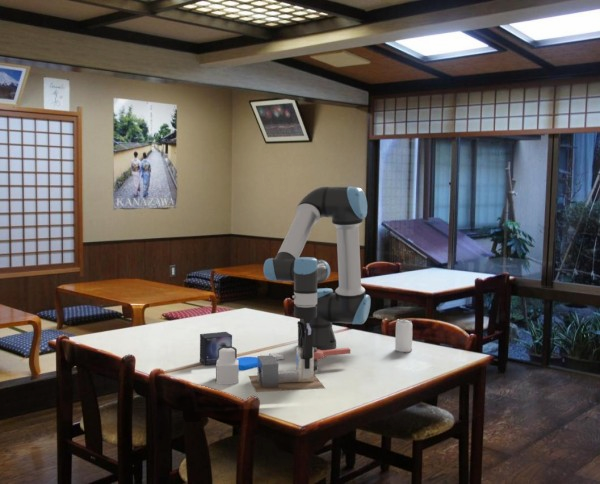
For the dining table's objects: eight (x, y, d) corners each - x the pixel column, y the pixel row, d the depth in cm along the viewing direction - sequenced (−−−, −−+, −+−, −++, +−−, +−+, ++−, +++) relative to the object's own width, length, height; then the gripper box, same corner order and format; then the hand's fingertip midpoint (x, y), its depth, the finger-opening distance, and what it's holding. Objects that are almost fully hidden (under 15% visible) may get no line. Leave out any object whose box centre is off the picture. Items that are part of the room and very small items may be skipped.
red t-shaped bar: (308, 360, 233) (308, 351, 233) (299, 355, 240) (299, 346, 239) (353, 355, 240) (353, 346, 240) (344, 351, 247) (344, 342, 246)
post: (307, 371, 240) (308, 356, 239) (316, 370, 240) (316, 356, 240) (309, 373, 237) (309, 358, 236) (318, 373, 237) (318, 358, 237)
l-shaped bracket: (257, 381, 223) (257, 347, 222) (311, 378, 227) (311, 345, 226) (258, 384, 220) (258, 350, 219) (313, 381, 223) (313, 348, 222)
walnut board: (248, 378, 230) (248, 375, 230) (312, 375, 234) (312, 372, 234) (256, 395, 212) (256, 391, 212) (325, 391, 217) (325, 388, 217)
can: (411, 352, 267) (412, 322, 265) (394, 351, 268) (395, 321, 267) (412, 348, 273) (412, 319, 272) (395, 348, 274) (396, 318, 273)
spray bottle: (244, 366, 236) (290, 354, 255) (222, 361, 242) (268, 349, 262) (244, 375, 236) (290, 361, 255) (222, 369, 243) (268, 357, 262)
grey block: (257, 378, 227) (257, 356, 226) (272, 377, 228) (272, 355, 227) (262, 388, 216) (262, 364, 215) (278, 387, 217) (278, 364, 216)
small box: (205, 366, 245) (205, 337, 244) (199, 362, 251) (198, 333, 250) (232, 363, 250) (232, 334, 249) (226, 358, 256) (226, 331, 255)
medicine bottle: (216, 380, 228) (216, 345, 226) (238, 380, 228) (238, 344, 227) (216, 387, 220) (215, 350, 219) (238, 386, 221) (238, 350, 220)
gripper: (289, 301, 230) (288, 369, 232) (299, 310, 213) (298, 384, 215) (311, 300, 231) (310, 368, 233) (322, 309, 215) (322, 382, 217)
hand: (304, 375), depth 224 cm, fingers closed on l-shaped bracket, 4 cm apart
